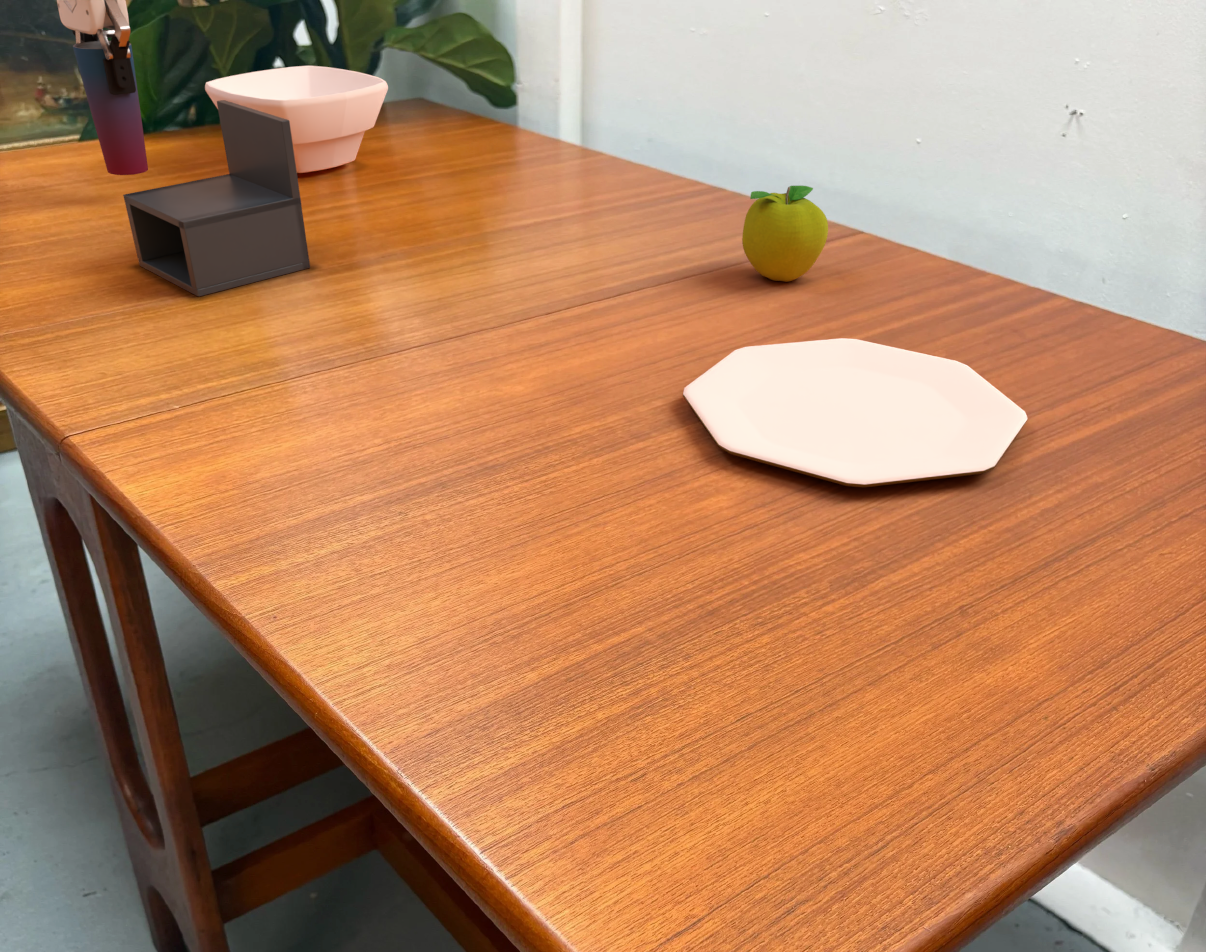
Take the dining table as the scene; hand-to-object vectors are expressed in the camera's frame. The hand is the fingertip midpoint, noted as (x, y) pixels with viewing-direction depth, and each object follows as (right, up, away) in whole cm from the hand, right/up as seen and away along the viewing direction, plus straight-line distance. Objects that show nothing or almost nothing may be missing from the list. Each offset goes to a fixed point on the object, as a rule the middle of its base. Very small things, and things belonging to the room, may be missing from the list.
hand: (111, 88), depth 144 cm
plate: (+84, -49, -44) cm, 107 cm away
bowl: (+19, -1, +24) cm, 30 cm away
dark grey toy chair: (+19, -26, -13) cm, 35 cm away
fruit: (+82, -28, -15) cm, 88 cm away
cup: (0, -8, +6) cm, 10 cm away
